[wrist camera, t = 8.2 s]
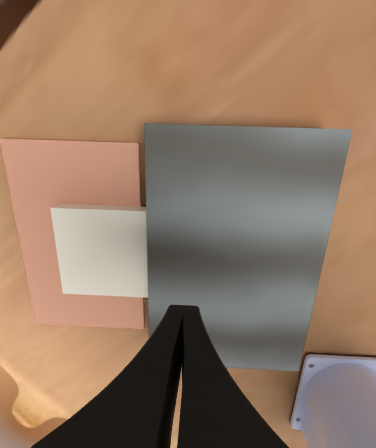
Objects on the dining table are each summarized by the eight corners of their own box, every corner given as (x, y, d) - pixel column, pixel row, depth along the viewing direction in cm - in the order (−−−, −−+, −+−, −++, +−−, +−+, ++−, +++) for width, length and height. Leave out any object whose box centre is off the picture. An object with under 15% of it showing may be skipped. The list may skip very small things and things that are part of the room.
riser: (284, 342, 21) (298, 371, 18) (155, 335, 22) (149, 363, 19) (324, 133, 16) (352, 129, 13) (153, 128, 16) (144, 123, 13)
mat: (144, 326, 21) (143, 329, 21) (38, 320, 21) (35, 323, 21) (139, 143, 17) (138, 142, 16) (4, 138, 17) (-1, 138, 16)
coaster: (153, 287, 20) (150, 297, 18) (72, 283, 20) (62, 293, 18) (152, 206, 18) (148, 211, 16) (62, 203, 18) (50, 207, 16)
